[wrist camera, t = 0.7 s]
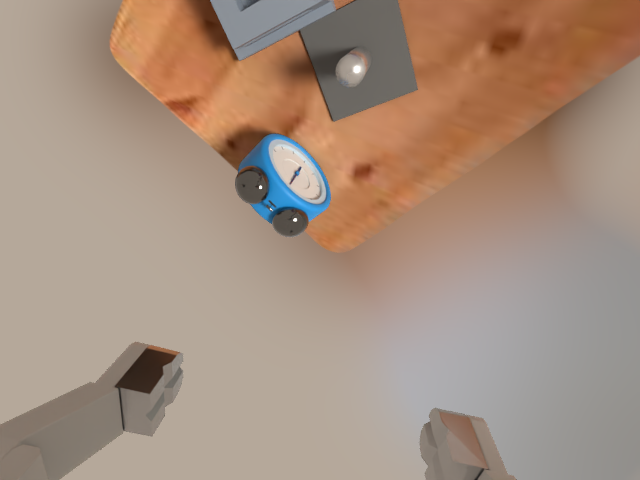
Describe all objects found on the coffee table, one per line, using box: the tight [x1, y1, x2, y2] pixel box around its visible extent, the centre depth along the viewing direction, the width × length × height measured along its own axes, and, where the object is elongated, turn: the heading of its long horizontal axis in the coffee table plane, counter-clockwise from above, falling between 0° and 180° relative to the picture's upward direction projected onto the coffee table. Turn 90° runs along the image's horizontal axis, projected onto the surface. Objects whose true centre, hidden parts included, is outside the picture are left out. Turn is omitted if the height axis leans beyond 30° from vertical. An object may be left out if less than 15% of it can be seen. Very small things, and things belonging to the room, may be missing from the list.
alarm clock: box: [235, 134, 331, 237], centre depth 45 cm, size 13×6×15 cm, turn 44°
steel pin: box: [336, 47, 371, 87], centre depth 36 cm, size 3×3×10 cm
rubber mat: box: [300, 0, 418, 121], centre depth 40 cm, size 12×12×1 cm
